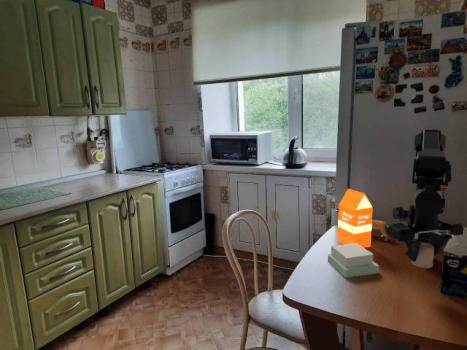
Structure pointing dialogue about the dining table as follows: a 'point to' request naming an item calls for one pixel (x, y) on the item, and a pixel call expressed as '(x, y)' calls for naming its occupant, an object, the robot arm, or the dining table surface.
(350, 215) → the orange juice
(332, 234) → the dining table surface
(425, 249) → the pale pink cylinder
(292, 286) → the dining table surface
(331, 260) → the sage slab
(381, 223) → the lion figurine
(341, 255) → the cream slab
